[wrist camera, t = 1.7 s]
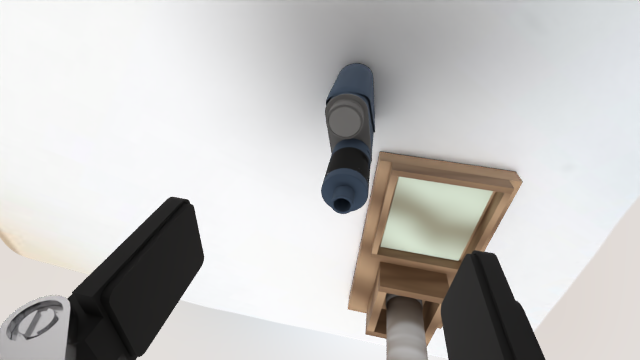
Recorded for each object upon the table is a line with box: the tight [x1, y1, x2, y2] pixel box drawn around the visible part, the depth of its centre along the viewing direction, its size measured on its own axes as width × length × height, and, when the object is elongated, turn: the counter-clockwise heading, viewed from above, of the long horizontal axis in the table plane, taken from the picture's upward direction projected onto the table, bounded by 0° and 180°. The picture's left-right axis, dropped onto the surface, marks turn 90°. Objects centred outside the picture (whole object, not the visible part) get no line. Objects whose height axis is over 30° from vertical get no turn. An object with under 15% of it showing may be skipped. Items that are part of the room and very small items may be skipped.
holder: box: [348, 152, 522, 360], centre depth 26 cm, size 21×11×10 cm, turn 176°
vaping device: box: [321, 63, 375, 214], centre depth 18 cm, size 3×5×12 cm, turn 9°
